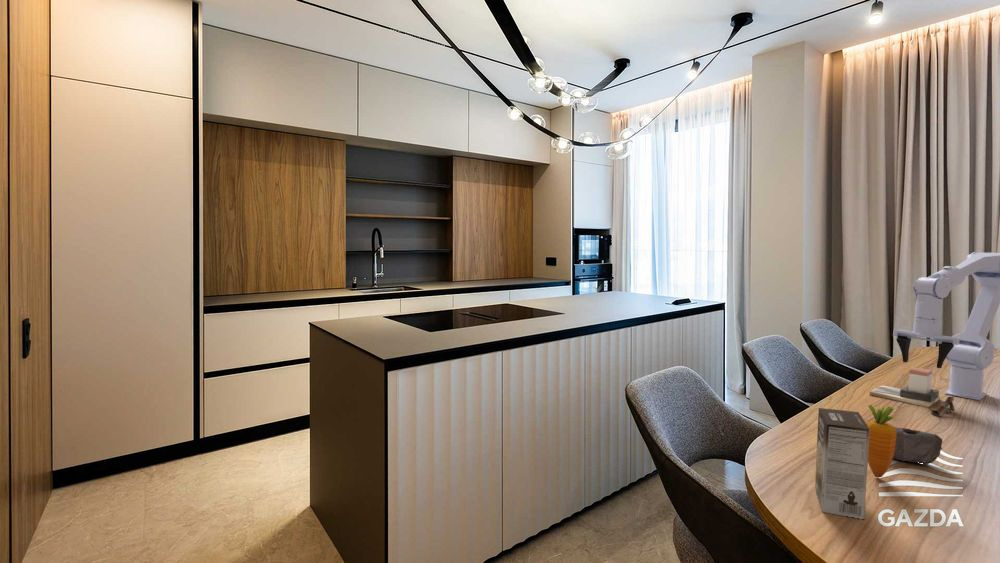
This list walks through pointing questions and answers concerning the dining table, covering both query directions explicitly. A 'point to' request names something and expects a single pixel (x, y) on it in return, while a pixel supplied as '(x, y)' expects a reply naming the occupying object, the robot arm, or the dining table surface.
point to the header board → (907, 395)
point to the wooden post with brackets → (943, 406)
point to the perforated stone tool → (916, 446)
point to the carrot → (881, 441)
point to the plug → (920, 380)
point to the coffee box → (842, 462)
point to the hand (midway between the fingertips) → (921, 364)
